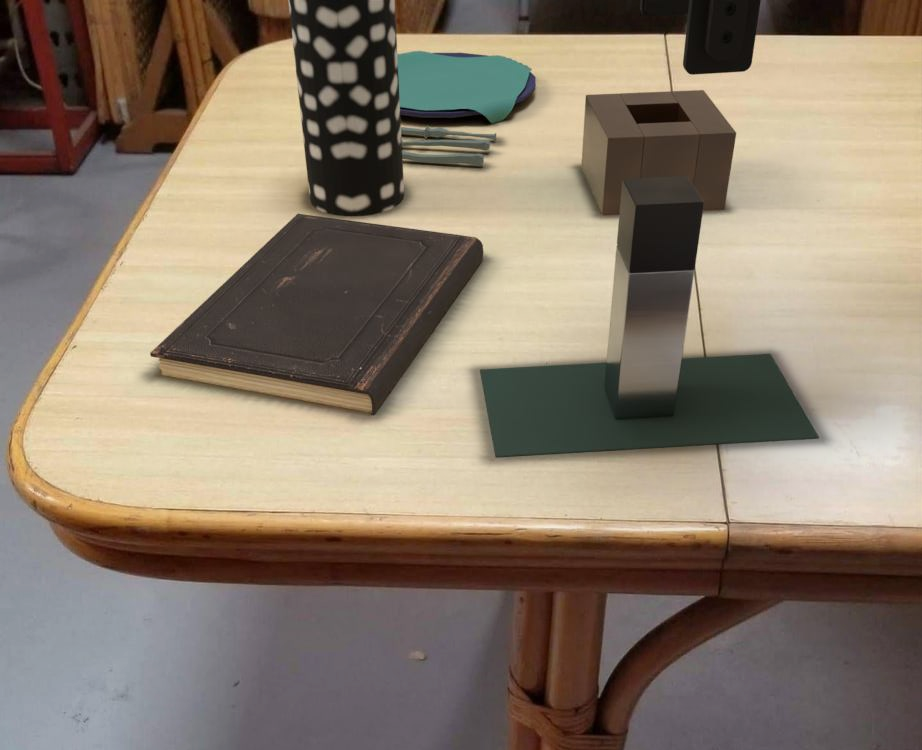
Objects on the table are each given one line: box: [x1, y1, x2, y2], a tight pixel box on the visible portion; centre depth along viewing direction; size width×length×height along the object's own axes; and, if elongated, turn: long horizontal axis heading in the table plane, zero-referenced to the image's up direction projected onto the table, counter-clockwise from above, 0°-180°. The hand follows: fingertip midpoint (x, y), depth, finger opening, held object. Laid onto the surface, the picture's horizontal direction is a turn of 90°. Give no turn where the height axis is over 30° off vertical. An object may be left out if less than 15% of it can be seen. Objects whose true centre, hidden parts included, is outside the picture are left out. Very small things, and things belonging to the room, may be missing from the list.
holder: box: [580, 89, 737, 216], centre depth 93 cm, size 11×11×7 cm
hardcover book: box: [149, 213, 484, 416], centre depth 78 cm, size 16×23×2 cm
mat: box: [479, 353, 820, 459], centre depth 69 cm, size 20×10×1 cm, turn 95°
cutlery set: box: [397, 50, 537, 167], centre depth 110 cm, size 20×30×2 cm, turn 168°
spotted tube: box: [287, 0, 405, 217], centre depth 88 cm, size 8×8×20 cm
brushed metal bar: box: [604, 176, 704, 419], centre depth 64 cm, size 4×4×14 cm
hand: (691, 40), depth 55 cm, fingers open, 9 cm apart
